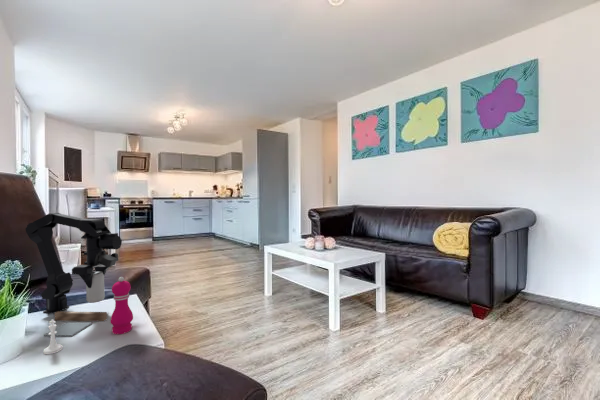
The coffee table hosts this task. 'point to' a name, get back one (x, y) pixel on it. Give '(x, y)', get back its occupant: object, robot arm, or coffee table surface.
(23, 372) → the coffee table surface
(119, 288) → the pepper mill
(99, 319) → the low wall
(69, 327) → the slate mat
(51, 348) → the chess piece
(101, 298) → the beverage can
